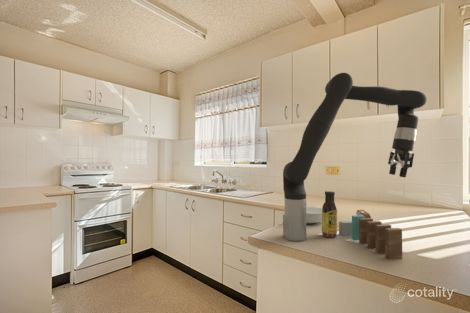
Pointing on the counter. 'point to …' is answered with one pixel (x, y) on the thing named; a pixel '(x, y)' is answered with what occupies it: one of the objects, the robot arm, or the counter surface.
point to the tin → (363, 213)
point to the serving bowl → (313, 214)
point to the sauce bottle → (329, 215)
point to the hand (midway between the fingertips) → (396, 175)
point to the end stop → (345, 228)
